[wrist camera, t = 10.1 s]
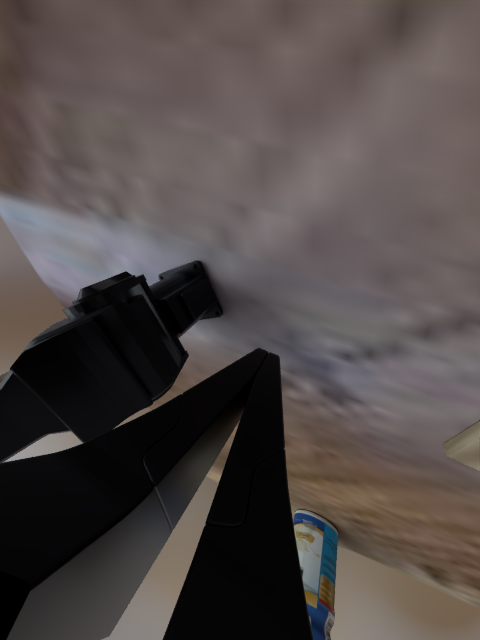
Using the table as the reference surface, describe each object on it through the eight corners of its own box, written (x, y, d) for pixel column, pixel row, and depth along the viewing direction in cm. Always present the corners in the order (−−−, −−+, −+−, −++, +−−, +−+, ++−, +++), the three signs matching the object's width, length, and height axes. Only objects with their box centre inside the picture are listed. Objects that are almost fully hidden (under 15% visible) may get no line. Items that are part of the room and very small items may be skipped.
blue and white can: (326, 536, 44) (309, 723, 29) (288, 511, 46) (254, 675, 31) (348, 531, 39) (340, 757, 24) (304, 503, 40) (271, 696, 25)
